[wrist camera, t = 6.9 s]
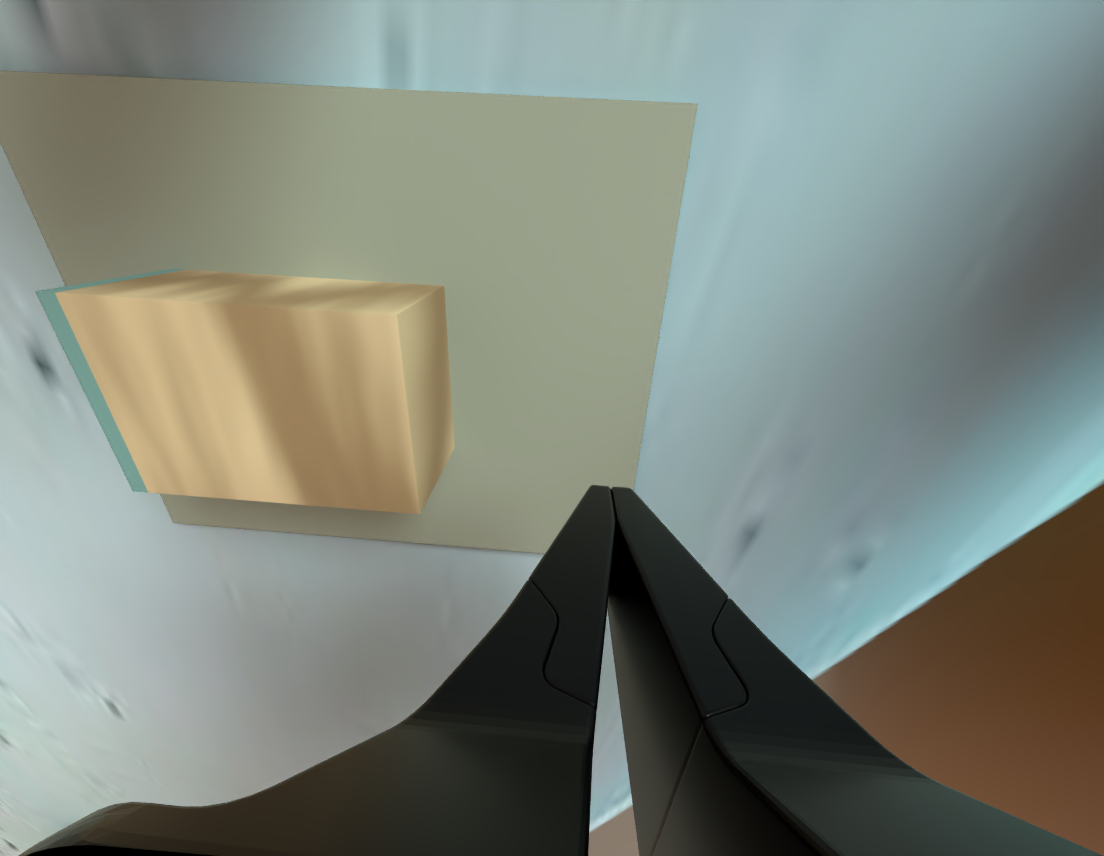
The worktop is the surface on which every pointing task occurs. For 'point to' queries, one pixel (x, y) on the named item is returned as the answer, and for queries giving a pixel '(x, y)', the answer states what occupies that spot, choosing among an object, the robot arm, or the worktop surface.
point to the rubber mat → (396, 255)
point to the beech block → (265, 384)
